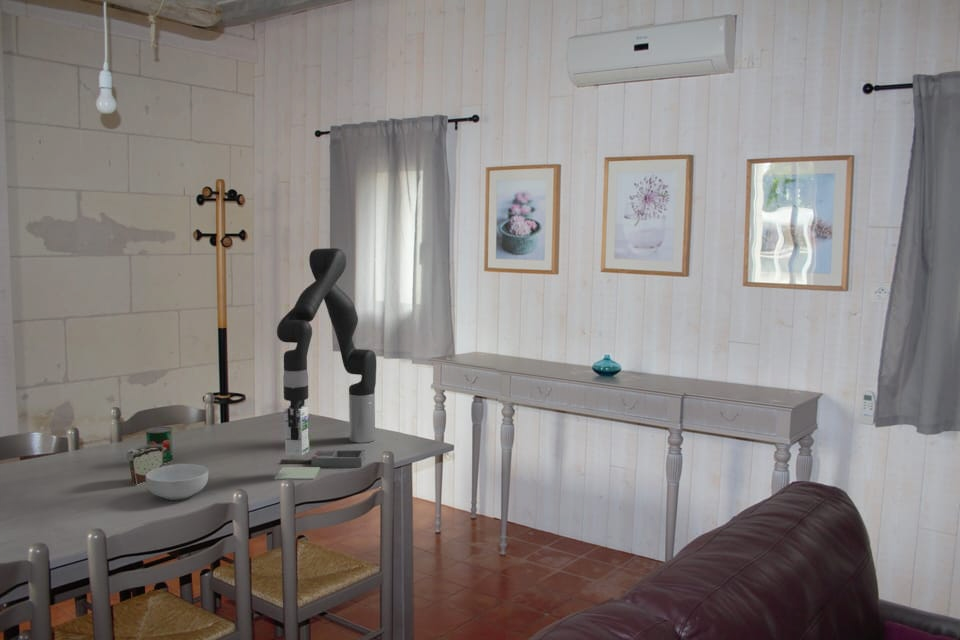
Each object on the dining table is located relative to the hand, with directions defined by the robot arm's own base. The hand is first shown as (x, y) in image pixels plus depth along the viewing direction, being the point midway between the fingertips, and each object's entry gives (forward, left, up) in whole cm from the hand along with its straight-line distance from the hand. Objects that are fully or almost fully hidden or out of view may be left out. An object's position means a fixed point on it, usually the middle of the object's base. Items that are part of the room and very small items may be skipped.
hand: (297, 436), depth 256 cm
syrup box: (0, 0, -5) cm, 5 cm away
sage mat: (0, 0, -12) cm, 12 cm away
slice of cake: (+6, -46, -12) cm, 48 cm away
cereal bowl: (+21, -30, -12) cm, 39 cm away
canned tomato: (-14, -48, -12) cm, 51 cm away
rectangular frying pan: (-12, +5, -12) cm, 18 cm away
